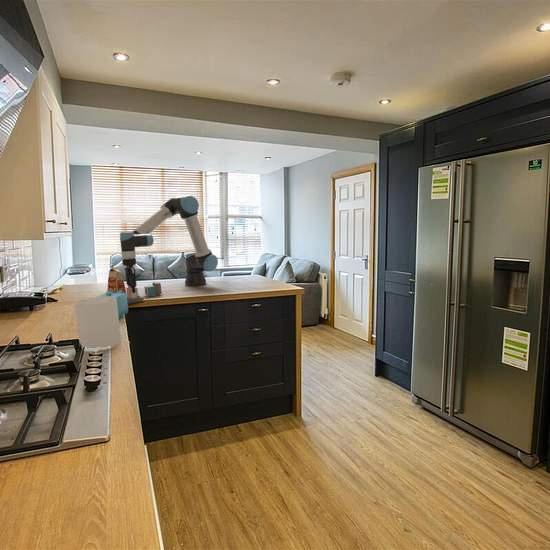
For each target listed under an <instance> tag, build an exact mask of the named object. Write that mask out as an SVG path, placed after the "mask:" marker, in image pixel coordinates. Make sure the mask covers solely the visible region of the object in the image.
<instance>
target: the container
mask: <svg viewBox="0 0 550 550" xmlns="http://www.w3.org/2000/svg"><path fill="white" fill-rule="evenodd" d="M74 307H75V308H74V309H75V315H76V324H77V325H76V326H77V332H78V333H77V334H78V340H79V344H80V343H81V345H82V346H84V347H87V348H97V347H108V346H110V347H111V348H112V349H115V348H116V347H119V346H120V345H121V344H122V340H121V339H122V338H121V329H120V320H119V319H120V318H118V308H117V298H116V297H112V296H101V297H97V296H93V297H86V298H82V299H78V300H75V302H74Z"/></svg>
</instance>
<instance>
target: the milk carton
mask: <svg viewBox="0 0 550 550" xmlns="http://www.w3.org/2000/svg"><path fill="white" fill-rule="evenodd" d="M107 278H108V279H107V290H106V292H110V291H111V292H112V293H118V291H120V290H122V292H121V293H127V290H126V288H127V287H126V284H125V280H124V276H123V273H122V271H121V270H120V269H119V267H113V266H111V267H110V270H109V271H108V277H107Z"/></svg>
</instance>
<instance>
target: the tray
mask: <svg viewBox="0 0 550 550" xmlns="http://www.w3.org/2000/svg"><path fill="white" fill-rule="evenodd" d="M142 300H144V301H145V297H144V296H142V295H139V294H138V298H134V299H128V298H127V303H128V305H132V304H137V303H136V302H137V301H142Z"/></svg>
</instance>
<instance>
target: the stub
mask: <svg viewBox="0 0 550 550" xmlns="http://www.w3.org/2000/svg"><path fill="white" fill-rule="evenodd" d="M125 288H126V293H127V298H128V299H134V298H131V288H128V287H125ZM138 290H139V289H138V287H137V286H136V298H138V295H139V291H138Z"/></svg>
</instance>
